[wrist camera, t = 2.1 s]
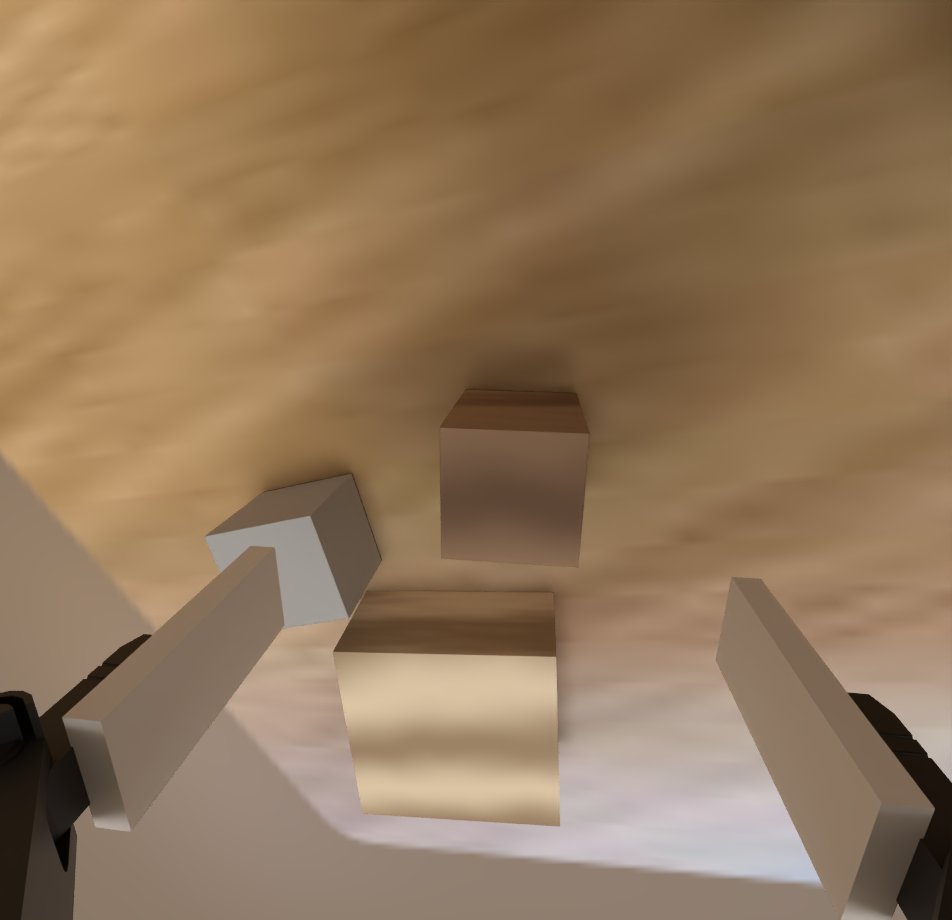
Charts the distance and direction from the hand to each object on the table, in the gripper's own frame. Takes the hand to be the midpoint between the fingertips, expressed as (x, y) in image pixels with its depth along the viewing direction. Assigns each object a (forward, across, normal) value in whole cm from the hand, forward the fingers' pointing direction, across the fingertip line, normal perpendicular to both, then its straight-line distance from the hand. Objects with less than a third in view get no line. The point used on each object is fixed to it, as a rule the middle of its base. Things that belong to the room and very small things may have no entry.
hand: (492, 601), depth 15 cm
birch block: (+16, -3, -16) cm, 22 cm away
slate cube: (+15, -12, -6) cm, 20 cm away
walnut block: (+15, 0, 0) cm, 15 cm away
